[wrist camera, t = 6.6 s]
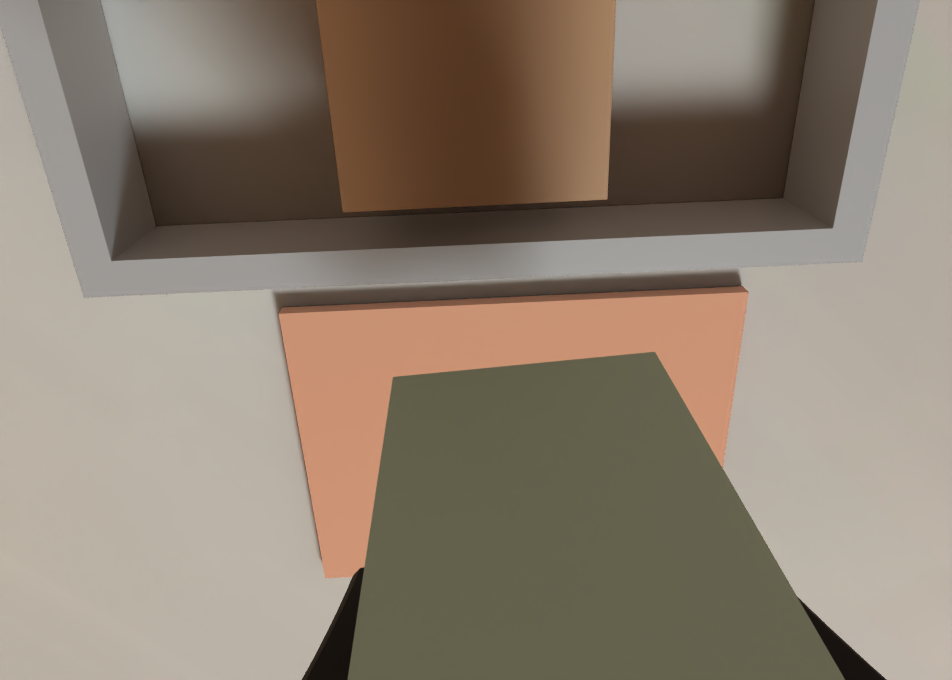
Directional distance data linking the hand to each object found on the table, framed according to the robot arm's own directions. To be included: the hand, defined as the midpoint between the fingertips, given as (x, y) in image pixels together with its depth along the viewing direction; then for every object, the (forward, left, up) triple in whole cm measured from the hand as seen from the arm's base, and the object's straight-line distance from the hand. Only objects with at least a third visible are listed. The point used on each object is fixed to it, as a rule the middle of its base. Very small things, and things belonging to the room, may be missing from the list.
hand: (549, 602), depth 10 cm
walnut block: (+1, -7, -10) cm, 12 cm away
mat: (0, +4, -9) cm, 10 cm away
